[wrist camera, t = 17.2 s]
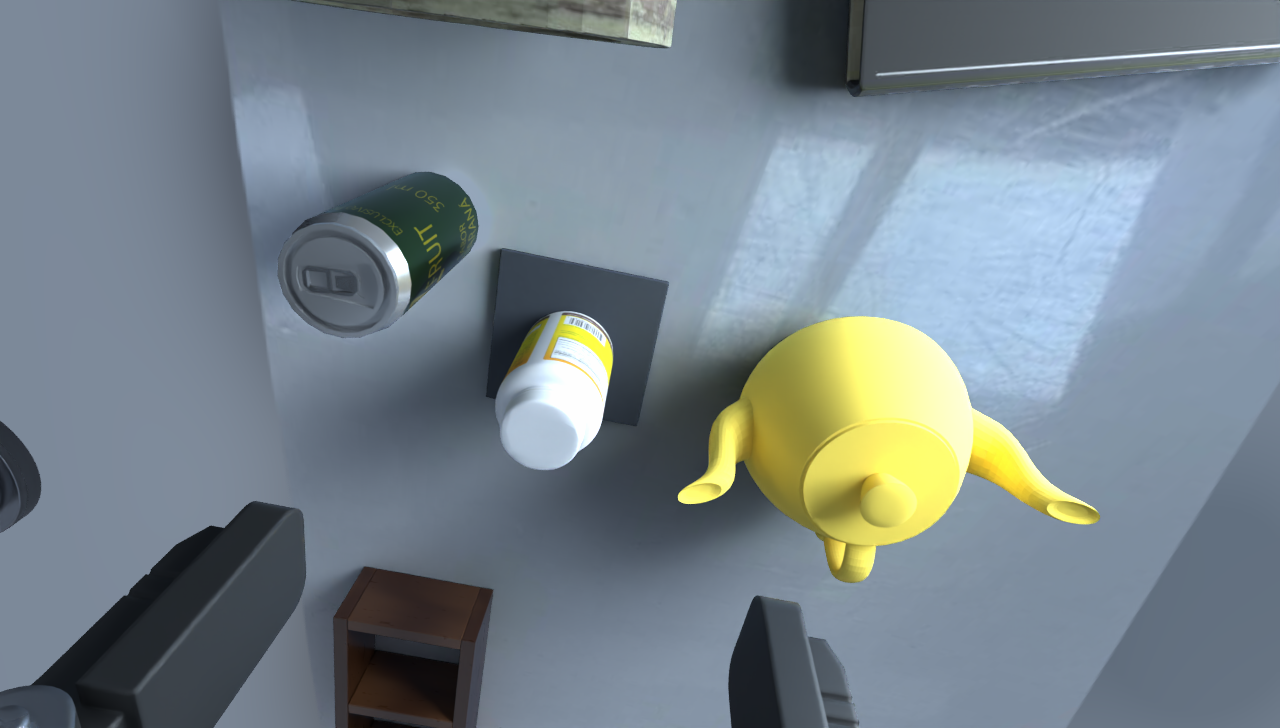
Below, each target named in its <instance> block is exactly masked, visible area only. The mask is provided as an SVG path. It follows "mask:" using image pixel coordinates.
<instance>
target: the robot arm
mask: <svg viewBox="0 0 1280 728" xmlns="http://www.w3.org/2000/svg"><path fill="white" fill-rule="evenodd" d="M0 504H1V489H0ZM305 579H306V562H305V540H304V519H303V514H302V512H301V510H299V509H295V508H290V507H285V506H279V505H274V504H268V503H263V502H257V501H253V502H251V503H249V504H248V505H246V506H245V507H244V508H243V509H242V510H241V511H240V512H239V513H238V514H237V515H236V516H235V518H234V519H233V520H232V521H231V522H230V523H229V524H228V525H227V526H226V527H225V528H221V527H215V526H209V527H207V528H206V529H204V530H202V531H200V532H199V533H196V534H195V535H193V536H191V537H189V538H187V539H186V540H184V541H182V542H180V543H178V544H177V545H175V546H174V547H173V548H172V549H171V550H170V551H169V552H168V553H167V554H166V555H165V556H164V557H163V558H162V559H161V560H160V561H159V562H158V563H157V564H156V565H155V566H154V567H153V568H152V569H151V572H150V574H149V575H147V574H146V575H145V576H144V577H143V578H142V579H141V580H139V581H138V583H136V585H134V586H133V588H131V589H130V592H129V594H128V595H127V596H123V597H122V598H121V599H120V600H119V601H118V602H117V603H116V604H115V605H114V606H113V607H112V608H111V609H110V610H109V611H108V612H107V613H106V614H105V615H104V616H103V617H102V618H100V619H99V620H98V621H97V622H96V623H95V624H94V625H93V627H91V628H90V629H89V630H88V631H87V632H86V633H85V634H84V635H83V636H82V637H81V638H80V639H79V640H78V641H77V642H76V643H75V644H74V645H73V646H72V647H71V648H70V649H69V650H68V651H67V652H66V653H65V654H64V655H62V657H60V659H58V660H57V661H56V662H55V663H54V664H53V665H52V666H51V667H50V668H49V669H48V670H47V671H46V672H45V673H44V674H43V675H42V676H41V677H40V678H39V679H37V680H36V681H35V682H34V683H33V684H32V685H30V686H23V687H17V688H13V689H9V690H5V691H2V692H0V728H213V727H214V726H215V725H216V723H217V722H218V720H219V719H220V717H221V716H222V714H223V713H224V712H225V710H226V709H227V707H228V706H229V704H230V703H231V701H232V700H233V699H234V697H235V696H236V694H237V693H238V691H239V690H240V688H241V687H242V685H243V684H244V682H245V681H246V680H247V678H248V676H249V675H250V674H251V672H252V671H253V670H254V668H255V667H256V665H257V664H258V662H259V661H260V659H261V658H262V657H263V655H264V653H265V652H266V651H267V649H268V648H269V646H270V645H271V643H272V642H273V641H274V639H275V638H276V636H277V635H278V633H279V632H280V630H281V629H282V627H283V626H284V625H285V623H286V622H287V620H288V619H289V617H290V616H291V614H292V613H293V611H294V610H295V608H296V606H297V604H298V602H299V600H300V597H301V595H302V592H303V589H304V585H305ZM728 689H729V702H730V714H731V726H732V728H859V720H858V716H857V713H856V709H855V705H854V703H852V695H851V691H850V687H849V684H848V680H847V677H846V673H845V669H844V667H843V665H842V664H841V662H840V661H839V659H838V658H837V656H836V655H835V653H834V652H833V650H832V649H831V648H830V646H829V645H828V643H827V642H826V640H824V639H818V638H813V637H808V635H807V631H806V627H805V622H804V618H803V613H802V610H801V607H800V605H799V604H798V603H795V602H790V601H784V600H779V599H774V598H768V597H763V596H755V597H754V598H753V600H752V602H751V605H750V608H749V610H748V613H747V616H746V619H745V621H744V624H743V627H742V629H741V632H740V635H739V638H738V640H737V643H736V646H735V648H734V651H733V654H732V658H731V663H730V669H729V683H728Z"/></svg>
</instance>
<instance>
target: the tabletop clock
mask: <svg viewBox="0 0 1280 728" xmlns="http://www.w3.org/2000/svg"><path fill="white" fill-rule="evenodd" d="M293 1H299V2H306V3H313V4H319V5H326V6H333V7H340V8H346V9H353V10H361V11H368V12H375V13H382V14H390V15H398V16H405V17H413V18H421V19H428V20H436V21H444V22H452V23H460V24H468V25H476V26H484V27H491V28H499V29H507V30H515V31H523V32H531V33H539V34H547V35H555V36H563V37H571V38H579V39H587V40H595V41H603V42H611V43H619V44H628V45H636V46H644V47H654V48H671V42H672V34H673V25H674V17H675V9H676V0H293Z"/></svg>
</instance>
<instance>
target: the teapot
mask: <svg viewBox="0 0 1280 728" xmlns="http://www.w3.org/2000/svg"><path fill="white" fill-rule="evenodd" d="M741 461H744V462H745V464H746V467H747V469H748V471H749V473H750V475H751V476H752V478H753V479H754V481H755V482H756V484H757V485H758V487H759V488H760V490H761V491H762V493H763V494H764V495H765V496H766V497H767V498H768V499H769V500H770V502H772V503H773V504H774V505H775V506H776V507H777V508H778V509H779V510H780V511H781V512H783V513H784V514H785V515H786V516H788V517H790V518H791V519H793V520H794V521H796V522H797V523H799V524H800V525H802V526H804V527H806V528H808V529H810V530H812V531H814V532H815V534H816V535H817V537H818V538H819V539H820V540H822V541H824V546H825V552H826V557H827V562H828V565H829V568H830V571H831V573H832V575H833V576H834V577H835V578H836V579H838V580H840V581H843V582H848V583H855V582H860V581H862V580H864V579H865V578H866V577H867V576H868V575H869V573H870V571H871V569H872V566H873V562H874V557H875V550H876V546H880V545H888V544H893V543H897V542H900V541H904V540H906V539H909V538H911V537H914V536H916V535H917V534H919V533H921V532H923V531H924V530H926V529H927V528H929V527H930V526H932V525H933V524H934V523H935V522H936V521H938V520H939V518H940V517H941V516H942V515H943V514H944V513H945V512H946V510H947V509H948V508H949V506H950V505H951V503H952V502H953V500H954V498H955V497H956V495H957V493H958V491H959V489H960V486H961V483H962V481H963V478H964V476H965V473H966V472H968V473H971V474H974V475H977V476H979V477H982V478H984V479H987V480H989V481H991V482H993V483H995V484H997V485H998V486H1000V487H1002V488H1003V489H1005V490H1006V491H1008V492H1009V493H1011V494H1012V495H1014V496H1015V497H1016V498H1018V499H1019V500H1021V501H1023V502H1024V503H1026V504H1027V505H1029V506H1031V507H1032V508H1034V509H1036V510H1038V511H1040V512H1042V513H1044V514H1046V515H1048V516H1050V517H1053V518H1055V519H1058V520H1061V521H1065V522H1070V523H1075V524H1093V523H1095V522H1097V521H1098V520H1099V519H1100V515H1099V513H1098V512H1097V511H1096V510H1095V509H1094V508H1092V507H1091V506H1089V505H1087V504H1086V503H1084V502H1082V501H1080V500H1077V499H1075V498H1073V497H1071V496H1069V495H1067V494H1065V493H1063V492H1062V491H1060V490H1059V489H1057V488H1056V487H1055V486H1053V485H1052V484H1051V483H1049V482H1048V481H1047V480H1046V479H1045V478H1044V477H1043V476H1042V475H1041V473H1040V472H1039V471H1038V470H1037V469H1036V467H1035V466H1034V464H1033V463H1032V461H1031V460H1030V459H1029V457H1028V455H1027V454H1026V452H1025V451H1024V449H1023V448H1022V446H1021V445H1020V444H1019V442H1018V441H1017V440H1016V439H1015V438H1014V436H1013V435H1012V434H1011V433H1010V432H1009V431H1008V430H1006V429H1005V428H1004V427H1003V426H1002V425H1000V424H999V423H997V422H996V421H994V420H992V419H991V418H989V417H987V416H985V415H983V414H981V413H980V412H978V411H976V410H974V409H972V408H971V405H970V401H969V398H968V394H967V391H966V387H965V385H964V383H963V381H962V378H961V376H960V374H959V372H958V370H957V368H956V367H955V365H954V364H953V362H952V361H951V360H950V358H949V357H948V356H947V354H946V353H945V352H944V351H943V350H942V349H941V348H940V347H939V346H938V345H937V343H936V342H934V341H933V340H932V339H930V338H929V337H928V336H926V335H925V334H923V333H922V332H920V331H918V330H916V329H914V328H913V327H910V326H908V325H905V324H902V323H900V322H896V321H892V320H888V319H884V318H875V317H865V316H859V317H842V318H835V319H830V320H826V321H822V322H819V323H816V324H813V325H810V326H808V327H805V328H803V329H801V330H799V331H797V332H795V333H793V334H791V335H790V336H788V337H787V338H785V339H784V340H782V341H781V342H779V343H778V344H777V345H776V346H775V347H774V348H772V349H771V350H770V351H769V352H768V353H767V354H766V355H765V356H764V357H763V358H762V360H761V361H760V362H759V363H758V364H757V366H756V367H755V369H754V370H753V372H752V373H751V375H750V376H749V378H748V380H747V382H746V384H745V386H744V388H743V390H742V393H741V396H740V399H739V400H738V401H737V402H735V403H733V404H731V405H730V406H728V407H727V408H725V409H724V410H723V411H722V412H721V413H720V414H719V415H718V417H717V418H716V420H715V421H714V423H713V425H712V429H711V432H710V436H709V466H708V469H707V471H706V473H705V474H704V475H703V476H702V477H701V478H700V479H698V480H696V481H695V482H693V483H692V484H690V485H688V486H687V487H685V488H684V489H682V490H681V492H680V493H679V495H678V499H679V501H680V502H682V503H686V504H697V503H703V502H707V501H710V500H713V499H715V498H717V497H719V496H721V495H722V494H724V493H725V492H726V491H727V490H728V489H729V488H730V487H731V485H732V483H733V481H734V477H735V464H737V463H738V462H741Z"/></svg>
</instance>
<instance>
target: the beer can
mask: <svg viewBox="0 0 1280 728" xmlns="http://www.w3.org/2000/svg"><path fill="white" fill-rule="evenodd" d="M477 232H478V220H477V213H476V210H475V208H474V206H473V204H472V201H471V199H470V197H469V196H468V195H467V194H466V193H465V192H464V190H463V189H462V188H461V187H460V186H459V185H458V184H456V183H455V182H453V181H452V180H450V179H449V178H447V177H446V176H443V175H439V174H436V173H432V172H415V173H413V174H410V175H408V176H405V177H403V178H401V179H398V180H396V181H394V182H391V183H389V184H387V185H385V186H382V187H380V188H378V189H376V190H373V191H371V192H369V193H366V194H364V195H362V196H360V197H357V198H355V199H353V200H351V201H348V202H346V203H344V204H341V205H339V206H337V207H335V208H332V209H330V210H328V211H325V212H323V213H321V214H319V215H316V216H314V217H312V218H310V219H307V220H305V221H304V222H303V223H302V224H301V225H300V226H299V227H298V228H297V229H296V230H295V231H294V232H293V234H292V236H291V237H290V238H289V239H288V240H287V241H286V242H285V243H284V245H283V248H282V250H281V252H280V255H279V257H278V279H279V282H280V285H281V289H282V292H283V295H284V296H285V298H286V299H287V301H288V302H289V304H290V306H291V307H292V309H293V310H294V311H295V312H296V313H297V314H298V315H299V316H300V317H301V318H302V319H303V320H304V321H305V322H307V323H308V324H309V325H311V326H313V327H315V328H316V329H318V330H320V331H322V332H323V333H326V334H330V335H334V336H337V337H341V338H360V337H363V336H366V335H368V334H371V333H374V332H377V331H380V330H383V329H386V328H388V327H390V326H391V325H392V324H393V323H394V322H396V321H397V320H398V319H399V318H400V317H401V316H402V315H404V314H405V313H406V312H407V311H408V310H409V309H410V308H411V307H412V306H413V305H414V304H415V303H416V302H417V301H418V300H419V299H420V298H422V297H423V296H424V295H425V294H426V293H427V292H428V291H429V290H430V289H431V288H432V287H433V286H434V285H435V284H436V283H437V282H438V281H440V280H441V279H442V278H443V277H444V276H445V275H446V274H447V273H448V272H449V271H450V270H451V269H452V268H453V267H454V266H455V265H456V264H458V263H459V262H460V261H461V260H462V259H463V258H464V257H465V256H466V255H467V254H468V253H469V252H470V251H471V249H472V247H473V245H474V243H475V241H476V238H477Z"/></svg>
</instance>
